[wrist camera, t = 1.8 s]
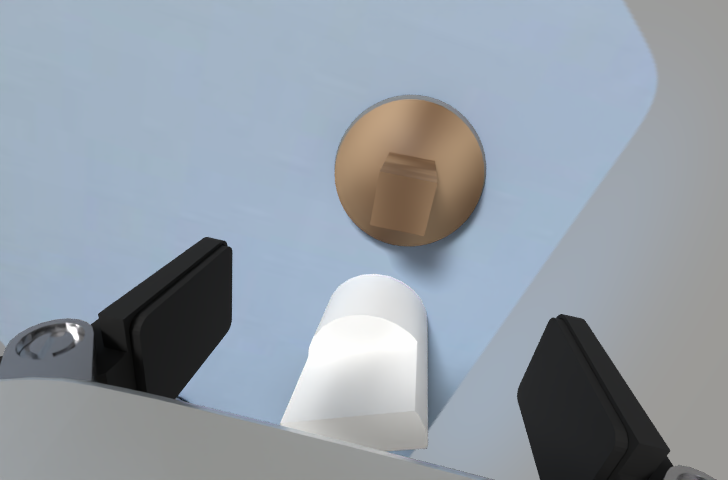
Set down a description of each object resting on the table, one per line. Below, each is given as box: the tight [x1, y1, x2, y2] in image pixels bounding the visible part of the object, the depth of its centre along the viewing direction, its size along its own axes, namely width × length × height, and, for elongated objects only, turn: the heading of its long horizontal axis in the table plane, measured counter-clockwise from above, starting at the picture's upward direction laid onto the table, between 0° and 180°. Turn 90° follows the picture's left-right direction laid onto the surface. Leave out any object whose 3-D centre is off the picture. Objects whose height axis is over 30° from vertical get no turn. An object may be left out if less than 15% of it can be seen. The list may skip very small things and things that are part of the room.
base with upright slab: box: [280, 274, 428, 451], centre depth 28 cm, size 9×9×12 cm
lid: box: [335, 99, 484, 246], centre depth 24 cm, size 10×10×7 cm
